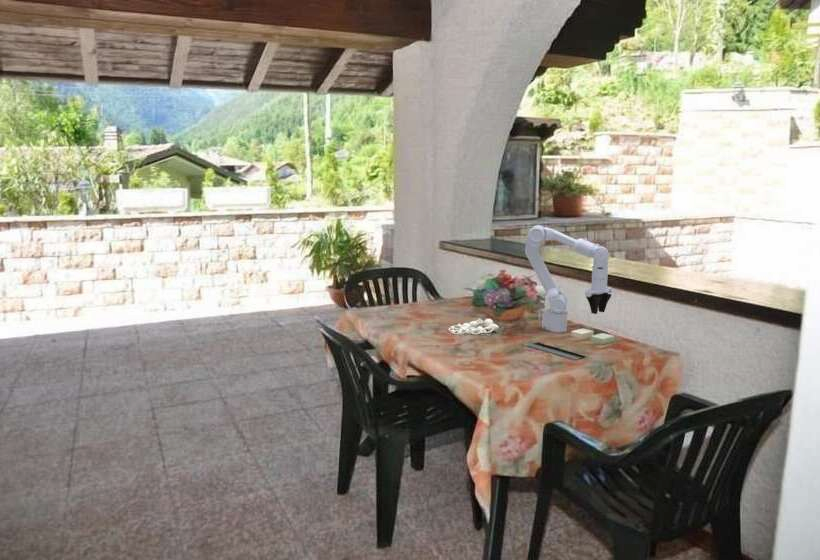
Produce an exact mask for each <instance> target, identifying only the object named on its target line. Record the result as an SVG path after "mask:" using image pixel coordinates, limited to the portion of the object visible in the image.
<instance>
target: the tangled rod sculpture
mask: <svg viewBox="0 0 820 560" xmlns="http://www.w3.org/2000/svg"><path fill="white" fill-rule="evenodd" d="M481 324H483V325H484V327H483V326H481ZM478 325H479V326H478ZM499 328H500V327H499V325H497V324H496V323H494V321H493V319H491V318H485V319H484V320H483V319H481V318H478V319H477V320H471V321H469V322H465V323H463V324H461V323H458V324H456V325H455V324H454V325H451V326H450V327H449V328H448V331H449V332H450V333H451V334H452V335H458V336H460V335H462V334H472V335H478V334H479V335H480V333H481V334H483V333H484V334H485V333H486V334H488V333H489V334H490V333H492V331H493V332H495V331H497V330H499ZM487 330H488V331H487Z"/></svg>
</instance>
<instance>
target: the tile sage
mask: <svg viewBox="0 0 820 560" xmlns="http://www.w3.org/2000/svg"><path fill="white" fill-rule="evenodd" d="M614 339H615V335H612V334H608V333H603V332H601V333H597V334H596V335H593V336H591V342H595V343H599V344H605V343H609V342H613V341H614Z"/></svg>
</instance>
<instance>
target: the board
mask: <svg viewBox="0 0 820 560" xmlns="http://www.w3.org/2000/svg"><path fill="white" fill-rule="evenodd" d="M594 335H597V334H594ZM556 337H558V338H561V339H564V340H568V341H572V342H575V343H580V344H584V345H587V346H591V347H595V348H598V349H603V348H605V347H609V346H613V345H617V344H620V343H624V340H619V339H615V338H614V341H613V342H609V343H605V344H599V343H595V342H591V337H588V338H584V339H580V338H576V337H572V336H571V332H568V333H564V334H560V335H556Z"/></svg>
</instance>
